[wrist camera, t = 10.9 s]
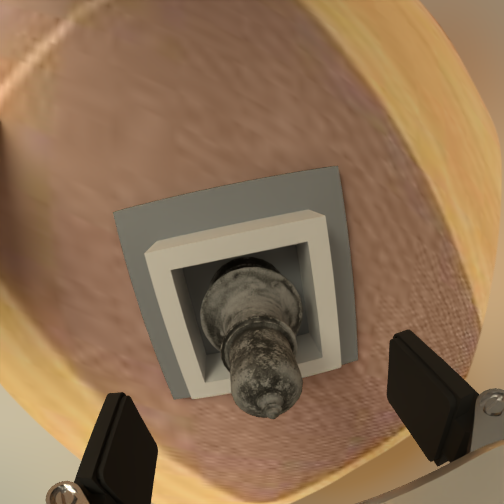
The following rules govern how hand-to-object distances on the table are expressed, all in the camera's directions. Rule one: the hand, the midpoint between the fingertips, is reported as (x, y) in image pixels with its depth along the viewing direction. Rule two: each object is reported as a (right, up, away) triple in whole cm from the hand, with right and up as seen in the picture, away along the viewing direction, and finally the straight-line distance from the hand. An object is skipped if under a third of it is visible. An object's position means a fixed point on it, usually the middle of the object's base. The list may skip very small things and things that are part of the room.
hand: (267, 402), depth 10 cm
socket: (-1, +2, +12) cm, 13 cm away
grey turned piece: (-1, +2, +12) cm, 12 cm away
